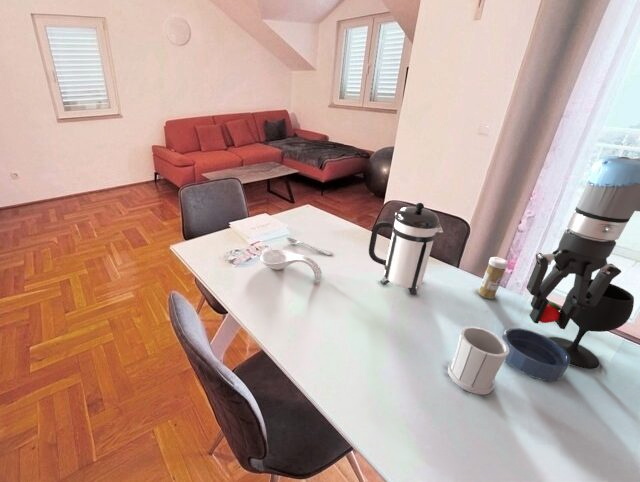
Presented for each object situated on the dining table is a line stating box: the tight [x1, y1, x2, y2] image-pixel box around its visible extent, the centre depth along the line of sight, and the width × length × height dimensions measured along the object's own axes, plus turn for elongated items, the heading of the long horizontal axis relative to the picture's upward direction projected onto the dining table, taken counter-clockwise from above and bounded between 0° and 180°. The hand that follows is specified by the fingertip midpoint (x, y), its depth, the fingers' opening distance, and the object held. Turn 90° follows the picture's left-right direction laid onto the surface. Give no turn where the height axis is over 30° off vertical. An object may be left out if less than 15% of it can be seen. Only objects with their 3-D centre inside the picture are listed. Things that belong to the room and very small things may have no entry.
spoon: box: [285, 237, 332, 256], centre depth 133 cm, size 4×21×2 cm, turn 54°
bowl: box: [501, 327, 571, 381], centre depth 78 cm, size 12×12×5 cm
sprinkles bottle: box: [477, 256, 509, 300], centre depth 101 cm, size 5×5×13 cm
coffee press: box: [368, 202, 444, 296], centre depth 104 cm, size 17×16×30 cm
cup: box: [447, 326, 509, 395], centre depth 72 cm, size 10×9×12 cm
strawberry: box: [539, 301, 562, 324], centre depth 74 cm, size 4×4×5 cm
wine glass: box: [548, 278, 635, 370], centre depth 77 cm, size 10×10×20 cm
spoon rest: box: [259, 249, 323, 283], centre depth 116 cm, size 24×12×7 cm, turn 56°
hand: (546, 322), depth 74 cm, fingers closed on strawberry, 4 cm apart
